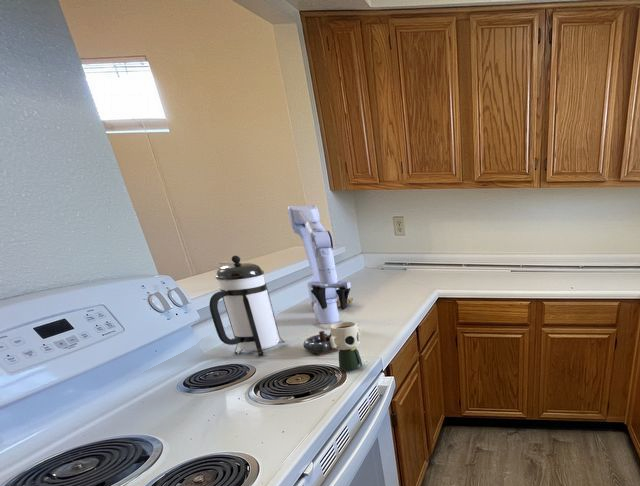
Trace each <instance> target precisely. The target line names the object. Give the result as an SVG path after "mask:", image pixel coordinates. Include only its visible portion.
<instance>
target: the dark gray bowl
mask: <svg viewBox="0 0 640 486" xmlns="http://www.w3.org/2000/svg"><path fill="white" fill-rule="evenodd" d="M325 337H326V342H321V339H320V335H319V334H315V335H312V336H311V335H310V337H307V338H306V339H305V340H303V344H302V347H303V349H305V350H307V351H309V352H311V351H312V352H311V353H313V352H322V351H329V350H332V349H335V348H332V346H331V342H330V337H331V332H330V333H328V332H327V333H325Z"/></svg>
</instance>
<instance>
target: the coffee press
mask: <svg viewBox="0 0 640 486" xmlns="http://www.w3.org/2000/svg"><path fill="white" fill-rule="evenodd" d="M231 261H232V264H225V265H222V266H220V267H219V268H218V269H217V271H216V274H215V280H217V283H218V285H219V291H217V292H215V293H214V294H212V295H211V297H210V299H209V311H210V314H211V317H212V318H211V319H212V322H213V325H214V328H215V331H216V334H217V336H218V338H219V340H220V341H221V342H222V343H223V344H226V345H229V346H234V345H237V346H236V347H235V349H234V354H235V355H240V354H241V353H242V351H246V352H257V355H258V357H259V358H260V357H264V356H265V355H264V351H263V350H267V349H270V348H273V347H275V346H276V345H278V344H279V342H280V341H282V342H283V343H285V340H283V339H282V338H281V335H280V332H279V331H280V330H279V328H278V325H277V320H276V317H275V312H274V309H273V304H272V301H271V296H270V293H269V289H268V286H267V285H268V284H267V282H266V281H265V278H264V276H265V272H264V270H263V269H262V268H261V267H260V266H259V265H258V264H255V263H250V262H242V263H241V258H240V256H238V255H233V256H231ZM221 299H222V301H223V304H224V308H225V310H226V314H227V317H228V321H229V324H230V327H231V330H232V334H233V336H234V338H230V337H228V335H227V334H226V331H225V328H224V325H223V321H222V318H221V314H220V312H219V308H218V306H219V305H218V304H219V301H220V300H221ZM283 347H285V345H284V346H283ZM237 349H240V350H239V352H236V350H237Z"/></svg>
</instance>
